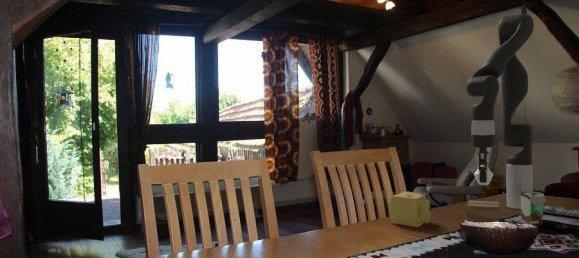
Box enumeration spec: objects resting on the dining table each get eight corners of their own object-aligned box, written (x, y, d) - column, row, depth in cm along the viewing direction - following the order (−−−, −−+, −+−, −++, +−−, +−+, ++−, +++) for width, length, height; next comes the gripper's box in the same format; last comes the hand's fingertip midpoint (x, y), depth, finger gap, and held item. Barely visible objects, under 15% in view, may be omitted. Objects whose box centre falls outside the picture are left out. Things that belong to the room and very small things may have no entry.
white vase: (494, 186, 150) (494, 165, 150) (475, 185, 152) (474, 165, 151) (491, 183, 156) (491, 163, 156) (473, 182, 158) (472, 163, 157)
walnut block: (469, 216, 161) (469, 200, 161) (499, 218, 156) (499, 202, 156) (467, 222, 152) (467, 205, 152) (499, 225, 147) (499, 207, 147)
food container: (552, 227, 143) (551, 197, 143) (531, 227, 144) (531, 196, 144) (538, 218, 155) (538, 190, 155) (519, 218, 156) (519, 190, 156)
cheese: (431, 222, 154) (431, 193, 154) (416, 228, 146) (416, 198, 146) (404, 218, 161) (403, 191, 161) (389, 223, 153) (388, 195, 153)
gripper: (472, 132, 161) (473, 178, 162) (470, 134, 148) (470, 183, 149) (495, 132, 158) (495, 178, 158) (494, 134, 145) (495, 184, 146)
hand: (483, 181), depth 154 cm, fingers closed on white vase, 6 cm apart
